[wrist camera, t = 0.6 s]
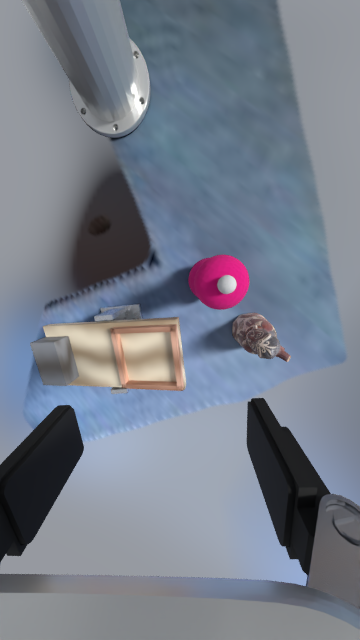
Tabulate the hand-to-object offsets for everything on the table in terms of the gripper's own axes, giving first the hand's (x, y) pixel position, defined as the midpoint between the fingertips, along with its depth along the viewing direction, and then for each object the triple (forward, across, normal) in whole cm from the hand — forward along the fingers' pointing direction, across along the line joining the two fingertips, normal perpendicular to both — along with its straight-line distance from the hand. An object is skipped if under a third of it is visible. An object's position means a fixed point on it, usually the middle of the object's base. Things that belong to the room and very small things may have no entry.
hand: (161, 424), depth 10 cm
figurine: (+29, -14, +5) cm, 33 cm away
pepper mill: (+29, -6, -6) cm, 30 cm away
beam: (+22, +12, +6) cm, 26 cm away
